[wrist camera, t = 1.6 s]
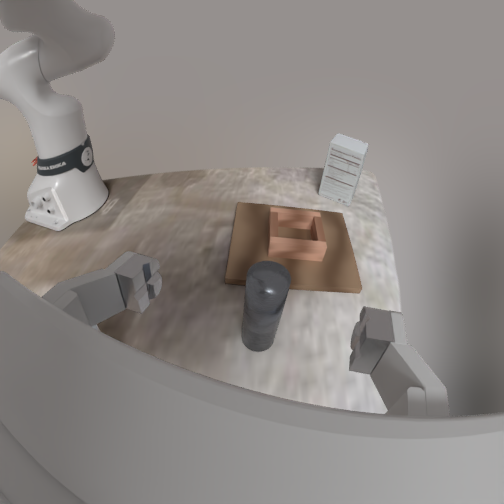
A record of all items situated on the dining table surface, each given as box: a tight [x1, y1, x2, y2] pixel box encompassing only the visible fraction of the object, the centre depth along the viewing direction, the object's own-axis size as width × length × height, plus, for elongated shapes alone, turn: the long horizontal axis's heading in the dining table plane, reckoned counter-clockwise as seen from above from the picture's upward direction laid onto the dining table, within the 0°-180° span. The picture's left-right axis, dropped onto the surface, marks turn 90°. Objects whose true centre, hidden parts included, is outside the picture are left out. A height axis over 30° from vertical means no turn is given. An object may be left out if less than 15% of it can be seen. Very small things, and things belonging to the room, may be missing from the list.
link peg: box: [242, 261, 291, 352], centre depth 29 cm, size 4×4×12 cm
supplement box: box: [318, 133, 369, 206], centre depth 53 cm, size 7×7×13 cm
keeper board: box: [225, 202, 362, 293], centre depth 44 cm, size 20×18×4 cm
